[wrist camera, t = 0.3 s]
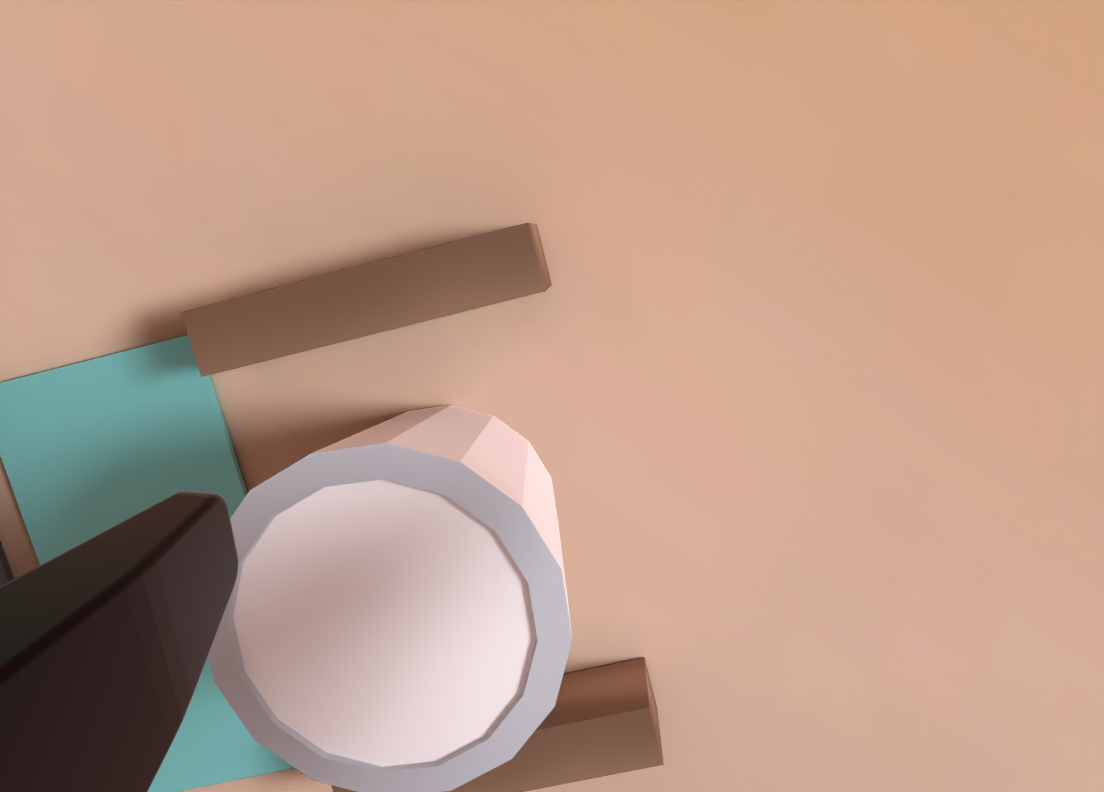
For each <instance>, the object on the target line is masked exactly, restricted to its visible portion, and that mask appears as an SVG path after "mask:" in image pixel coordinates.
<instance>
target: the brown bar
mask: <svg viewBox="0 0 1104 792" xmlns="http://www.w3.org/2000/svg"><path fill="white" fill-rule="evenodd" d="M550 286H551V281H550V277H549V273H548V269H547V265H546V260H545V256H544V252H543V248H542V244H541V240H540V236H539V232H538V228H537V224H532V223H525V224H521V225H517V226H513V227H509V228H505V229H501V230H498V231H494V232H490V233H486V234H482V235H478V236H474V237H470V238H467V239H463V240H459V241H455V242H451V243H447V244H443V245H439V246H436V247H432V248H428V249H424V250H420V251H416V252H412V253H408V254H405V255H401V256H397V257H393V258H389V259H385V260H381V261H377V262H374V263H370V264H366V265H362V266H358V267H354V268H350V269H346V270H343V271H339V272H335V273H331V274H327V275H323V276H319V277H315V278H311V279H308V280H304V281H300V282H296V283H292V284H288V285H284V286H280V287H277V288H273V289H269V290H265V291H261V292H257V293H253V294H249V295H246V296H242V297H238V298H234V299H230V300H226V301H222V302H218V303H215V304H211V305H207V306H203V307H199V308H195V309H191V310H187V311H184V312H181V315H182V318H183V321H184V324H185V327H186V331H187V334H188V337H189V340H190V343H191V346H192V349H193V352H194V356H195V359H196V362H197V365H198V368H199V371H200V374H201V377H203V376H207V375H211V374H215V373H219V372H223V371H227V370H231V369H235V368H239V367H243V366H247V365H251V364H255V363H259V362H263V361H267V360H271V359H275V358H279V357H283V356H287V355H291V354H295V353H299V352H303V351H307V350H311V349H315V348H319V347H323V346H327V345H331V344H336V343H340V342H344V341H348V340H352V339H356V338H360V337H364V336H368V335H372V334H376V333H380V332H384V331H388V330H392V329H396V328H400V327H404V326H408V325H412V324H416V323H420V322H424V321H428V320H432V319H436V318H440V317H444V316H448V315H452V314H456V313H460V312H464V311H468V310H472V309H476V308H480V307H484V306H488V305H492V304H496V303H500V302H504V301H508V300H512V299H516V298H520V297H524V296H528V295H532V294H536V293H540V292H544V291H546V290H547V289H548V288H549V287H550ZM659 765H664V763H663V755H662V746H661V738H660V729H659V721H658V712H657V706H656V702H655V698H654V694H653V690H652V686H651V682H650V678H649V674H648V670H647V666H646V662H645V658H640V659H635V660H630V661H625V662H620V663H615V664H610V665H606V666H601V667H596V668H591V669H586V670H581V671H576V672H572V673H567V674H563V678H562V681H561V685H560V689H559V693H558V696H557V700H556V704H555V707H554V708H553V709H552V710H551V712H550V713H549V714H548V715H547V717H546V718H545V719H544V720H543V721H542V723H541V724H540V725H539V726H538V728H537V729H536V730H535V731H534V732H533V734H532V735H531V736H530V737H529V739H528V740H527V741H526V742H525V743H524V745H523V746H522V747H521V748H520V750H519V751H518V752H517V753H516V755H515V756H514V757H513V758H512V759H511V760H509V761H507V762H505V763H503V764H501V765H499V766H498V767H496V768H494V769H492V770H490V771H488V772H486V773H484V774H482V775H480V776H478V777H476V778H475V779H473V780H471V781H469V782H467V783H465V784H463V785H461V786H459V787H457V788H455V789H453V790H452V791H444V792H524V791H530V790H535V789H540V788H545V787H550V786H555V785H561V784H566V783H571V782H576V781H581V780H586V779H592V778H597V777H602V776H607V775H612V774H618V773H623V772H628V771H633V770H638V769H643V768H649V767H654V766H659ZM332 788H333V792H356V791H353V790H349V789H345V788H341V787H337V786H333V785H332Z"/></svg>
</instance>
